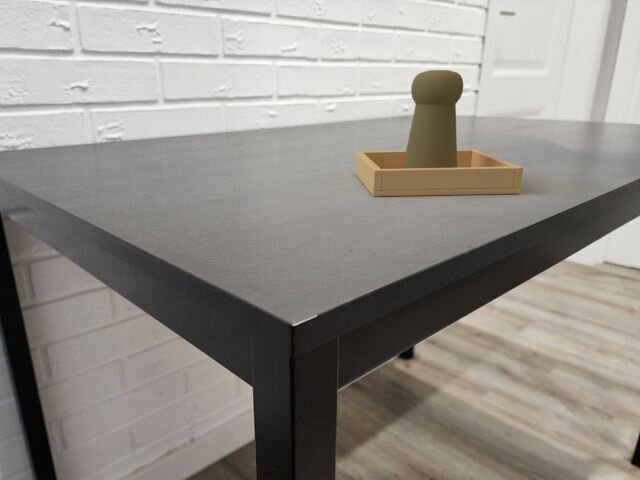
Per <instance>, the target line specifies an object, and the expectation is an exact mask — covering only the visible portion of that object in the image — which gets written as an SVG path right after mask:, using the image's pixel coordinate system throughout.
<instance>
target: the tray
mask: <svg viewBox="0 0 640 480" xmlns="http://www.w3.org/2000/svg"><path fill="white" fill-rule="evenodd" d="M405 155H406V150H375V151H373V150H371V151H368V150H367V151H355V158H354V159H355V162H354V174H355V175H356V176H357V178H358V179H359V180H360V182H361V183H362V184H363V185H364V186H365V188H366V189H367V190H368V192H369V193H370V194H371V196H372V197H409V196H410V197H417V196H419V197H421V196H469V195H471V196H472V195H474V196H475V195H517V194H518V195H519V194H520V191H521V184H522V180H523V179H522V178H523V172H524V167H522V166H519V165H517V164H514V163H512V162H509V161H507V160H504V159H502V158H499V157H497V156H494V155H491V154H489V153H486V152H484V151H481V150H479V149H476V148H475V149H457V168H406V169H403V165H404V160H405Z"/></svg>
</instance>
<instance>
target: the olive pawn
mask: <svg viewBox="0 0 640 480" xmlns="http://www.w3.org/2000/svg"><path fill="white" fill-rule="evenodd" d="M463 92H464V79H463V77H462V75H461V74H460V73H459V72H457V71H453V70H449V69H431V70H425V71H423V72H419V73H418V74H416V75H415V77H414V78H413V80H412V83H411V88H410V94H411V99H412V100H413V102H414V104H415V105H414V111H413V116H412V121H411V124H410V125H411V126H410V130H409V135H408V141H407V145H406V150H405V151H406V155H405V160H404V165H403V169H406V168H457V150H458V146H457V145H458V144H457V143H458V142H457V103H458V102H459V100H461V98H462V95H463Z"/></svg>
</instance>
